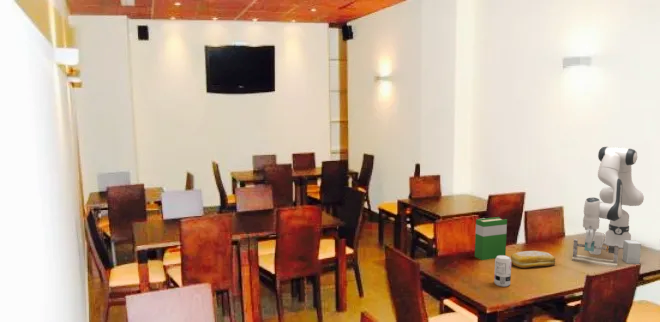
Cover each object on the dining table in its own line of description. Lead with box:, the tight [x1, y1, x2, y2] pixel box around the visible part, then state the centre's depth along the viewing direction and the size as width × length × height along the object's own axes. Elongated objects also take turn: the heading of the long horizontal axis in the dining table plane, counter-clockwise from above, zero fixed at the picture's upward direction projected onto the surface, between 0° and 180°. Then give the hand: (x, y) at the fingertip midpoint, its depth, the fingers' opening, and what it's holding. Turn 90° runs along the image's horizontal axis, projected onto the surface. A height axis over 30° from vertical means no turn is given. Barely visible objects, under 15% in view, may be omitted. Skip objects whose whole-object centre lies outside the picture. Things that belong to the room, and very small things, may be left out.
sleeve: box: [583, 241, 595, 252], centre depth 308 cm, size 4×5×5 cm
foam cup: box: [588, 231, 606, 256], centre depth 324 cm, size 10×9×13 cm
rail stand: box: [571, 238, 619, 268], centre depth 307 cm, size 10×24×12 cm, turn 59°
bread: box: [510, 250, 556, 269], centre depth 302 cm, size 13×26×8 cm, turn 108°
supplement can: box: [493, 255, 512, 288], centre depth 270 cm, size 8×8×15 cm
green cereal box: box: [474, 216, 508, 261], centre depth 316 cm, size 18×7×24 cm, turn 111°
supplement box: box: [622, 239, 642, 265], centre depth 307 cm, size 7×7×13 cm
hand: (589, 246), depth 308 cm, fingers closed on sleeve, 4 cm apart
